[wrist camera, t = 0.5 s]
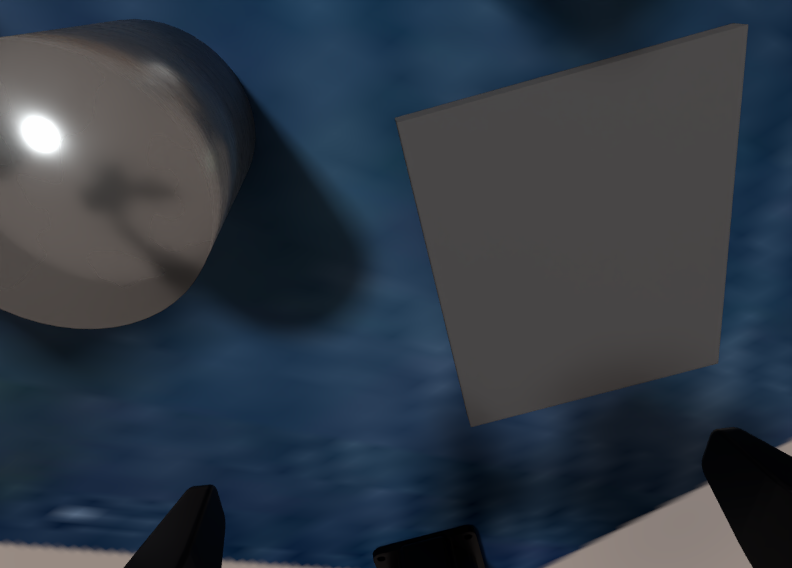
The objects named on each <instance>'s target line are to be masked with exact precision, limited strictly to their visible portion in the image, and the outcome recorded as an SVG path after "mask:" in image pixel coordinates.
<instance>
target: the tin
mask: <svg viewBox="0 0 792 568" xmlns="http://www.w3.org/2000/svg"><path fill="white" fill-rule="evenodd" d="M254 150H255V123H254V118H253V113H252V109H251V106H250V103H249V100H248V98H247V96H246V93H245V91H244V89H243V87H242V85H241V84H240V82H239V80H238V79H237V77H236V75H235V74H234V73H233V71H232V70H231V69H230V67H229V66H228V65H227V64H226V63H225V62H224V60H223V59H222V58H221V57H220V56H219V55H218V54H217V53H216V52H214V51H213V50H212V49H211V48H210V47H208V46H207V45H206V44H205V43H203V42H202V41H200V40H199V39H197V38H196V37H194V36H192V35H191V34H189V33H187V32H185V31H183V30H181V29H178V28H176V27H173V26H170V25H167V24H164V23H160V22H155V21H151V20H140V19H129V20H117V21H111V22H104V23H97V24H90V25H83V26H76V27H69V28H62V29H55V30H48V31H41V32H34V33H27V34H21V35H14V36H7V37H0V309H2V310H5V311H7V312H10V313H12V314H15V315H17V316H19V317H22V318H26V319H29V320H32V321H36V322H39V323H44V324H48V325H53V326H58V327H67V328H76V329H101V328H111V327H118V326H122V325H127V324H131V323H134V322H137V321H140V320H143V319H146V318H148V317H150V316H153V315H155V314H157V313H159V312H161V311H162V310H164V309H165V308H167V307H168V306H170V305H171V304H173V303H174V302H175V301H176V300H178V299H179V298H180V297H181V296H182V295H183V294H184V293H185V292H186V291H187V290H188V289H189V287H190V286H191V285H192V284H193V282H194V281H195V280H196V278H197V276H198V275H199V273H200V271H201V269H202V268H203V266H204V264H205V262H206V259H207V257H208V255H209V253H210V251H211V249H212V247H213V245H214V242H215V240H216V238H217V236H218V234H219V232H220V230H221V228H222V226H223V223H224V221H225V219H226V217H227V215H228V213H229V211H230V209H231V206H232V204H233V202H234V200H235V198H236V196H237V194H238V192H239V189H240V187H241V185H242V183H243V181H244V179H245V177H246V175H247V172H248V170H249V167H250V165H251V162H252V159H253V154H254Z"/></svg>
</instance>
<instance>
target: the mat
mask: <svg viewBox="0 0 792 568" xmlns="http://www.w3.org/2000/svg"><path fill="white" fill-rule="evenodd" d="M747 32H748V25H747V24H735V23H733V24H729V25H726V26H722V27H718V28H715V29H711V30H708V31H704V32H701V33H697V34H693V35H690V36H686V37H683V38H679V39H676V40H672V41H668V42H665V43H661V44H658V45H654V46H651V47H647V48H643V49H640V50H636V51H633V52H629V53H626V54H622V55H618V56H615V57H611V58H608V59H604V60H601V61H597V62H593V63H590V64H586V65H583V66H579V67H576V68H572V69H568V70H565V71H561V72H558V73H554V74H550V75H547V76H543V77H540V78H536V79H533V80H529V81H525V82H522V83H518V84H515V85H511V86H508V87H504V88H500V89H497V90H493V91H490V92H486V93H483V94H479V95H475V96H472V97H468V98H465V99H461V100H458V101H454V102H450V103H447V104H443V105H440V106H436V107H433V108H429V109H425V110H422V111H418V112H415V113H411V114H408V115H404V116H400V117H397V118H395V121H396V125H397V129H398V133H399V137H400V141H401V145H402V149H403V154H404V158H405V162H406V166H407V170H408V174H409V178H410V182H411V186H412V190H413V194H414V199H415V203H416V207H417V211H418V215H419V219H420V223H421V227H422V231H423V235H424V240H425V244H426V248H427V252H428V256H429V260H430V264H431V268H432V272H433V276H434V281H435V285H436V289H437V293H438V297H439V301H440V305H441V309H442V313H443V317H444V321H445V326H446V330H447V334H448V338H449V342H450V346H451V350H452V354H453V358H454V362H455V367H456V371H457V375H458V379H459V383H460V387H461V391H462V395H463V399H464V403H465V408H466V412H467V416H468V419H469V422H470V425H471V427H474V426H477V425H481V424H485V423H489V422H493V421H497V420H501V419H504V418H508V417H512V416H516V415H520V414H524V413H528V412H532V411H535V410H539V409H543V408H547V407H551V406H555V405H559V404H562V403H566V402H570V401H574V400H578V399H582V398H586V397H590V396H593V395H597V394H601V393H605V392H609V391H613V390H617V389H620V388H624V387H628V386H632V385H636V384H640V383H644V382H648V381H651V380H655V379H659V378H663V377H667V376H671V375H675V374H678V373H682V372H686V371H690V370H694V369H698V368H702V367H706V366H709V365H713V364H717V363H718V357H719V346H720V335H721V324H722V313H723V301H724V290H725V279H726V268H727V256H728V245H729V234H730V223H731V211H732V200H733V189H734V178H735V166H736V155H737V144H738V133H739V122H740V110H741V99H742V88H743V77H744V65H745V54H746V43H747Z"/></svg>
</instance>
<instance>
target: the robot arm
mask: <svg viewBox="0 0 792 568" xmlns="http://www.w3.org/2000/svg"><path fill="white" fill-rule="evenodd" d="M702 469H703V472H704V475H705V477H706V479H707V481H708V483H709V485H710V487H711V489H712V491H713V493H714V495H715V497H716V499H717V501H718V503H719V504H720V507H721V509H722V510H723V512H724V514H725V516H726V518H727V520H728V522H729V524H730V526H731V528H732V530H733V532H734V534H735V536H736V538H737V540H738V542H739V544H740V546H741V547H742V549H743V551H744V553H745V555H746V556H747V558H748V560H749V562H750V563H751V565H752V567H753V568H792V457H791V456H790V455H788V454H786V453H784V452H782V451H780V450H779V449H777V448H775V447H773V446H771V445H769V444H768V443H766V442H764V441H762V440H760V439H758V438H757V437H755V436H753V435H751V434H749V433H747V432H746V431H744V430H742V429H739V428H735V427H731V428H722V429H716V430H714V431H713V432H712V433H711V435H710V438H709V441H708V443H707V446H706V449H705V452H704V455H703V458H702ZM224 537H225V515H224V512H223V508H222V505H221V502H220V498H219V495H218V492H217V489H216V487H215V486H214V485H201V486H193V487H191V488H189V489H188V490H187V491H186V492H185V493H184V494H183V495H182V497H181V498H180V499H179V500H178V502H177V503H176V504H175V505H174V506H173V508H172V509H171V510H170V511H169V513H168V514H167V515H166V516H165V518H164V519H163V520H162V521H161V522H160V524H159V525H158V526H157V527H156V529H155V530H154V531H153V532H152V533H151V535H150V536H149V537H148V538H147V540H146V541H145V542H144V543H143V544H142V546H141V547H140V548H139V549H138V551H137V552H136V553H135V554H134V556H133V557H132V558H131V560H130V561H129V562H128V563H127V564H126V566H125V567H124V568H221V565H222V557H223V547H224ZM373 560H374V563H375V565H376V567H377V568H485V565H484V562H483V558H482V554H481V551H480V547H479V544H478V540H477V536H476V533H475V529H474V528H473V527H471V526H465V527H461V528H457V529H453V530H449V531H445V532H441V533H437V534H433V535H429V536H425V537H421V538H417V539H413V540H409V541H405V542H401V543H397V544H393V545H389V546H386V547H382V548H378V549H376V550H374V552H373Z"/></svg>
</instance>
